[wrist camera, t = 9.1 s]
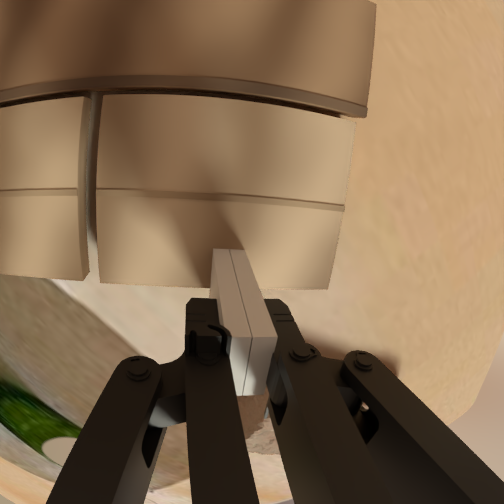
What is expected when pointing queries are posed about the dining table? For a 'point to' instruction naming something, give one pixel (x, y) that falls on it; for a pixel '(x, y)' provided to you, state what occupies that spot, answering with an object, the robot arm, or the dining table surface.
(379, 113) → the dining table surface
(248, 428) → the brick
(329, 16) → the floorboard
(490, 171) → the dining table surface
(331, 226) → the plank
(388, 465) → the robot arm
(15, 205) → the plank
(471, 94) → the dining table surface
